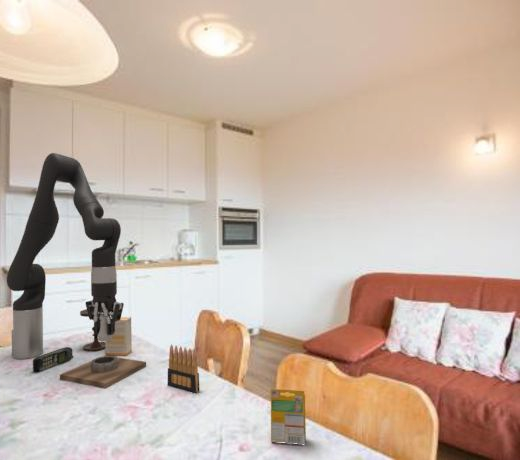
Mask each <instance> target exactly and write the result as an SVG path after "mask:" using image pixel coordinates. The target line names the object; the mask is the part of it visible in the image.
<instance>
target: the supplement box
mask: <svg viewBox="0 0 520 460" xmlns="http://www.w3.org/2000/svg"><path fill="white" fill-rule="evenodd" d="M111 319H112V318H111ZM132 335H133V334H132V317H131V316H121V319H120V320H119V321H116V322H115V332H114V334H112V335H111V336H112V338H111V339H110V340H107V341H104V342H105V348H106V349H105V356H128V355H129V354H130V353H131V352H132V351H133V348H132V347H133V343H132V342H133V341H132V338H133V337H132Z"/></svg>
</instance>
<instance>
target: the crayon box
mask: <svg viewBox="0 0 520 460" xmlns="http://www.w3.org/2000/svg"><path fill="white" fill-rule="evenodd" d="M306 427H307V426H306V394H305V390H297V389H293V390H292V389H281V388H280V389H277V388H271V389H270V443H271V442H285V443H297V444H305V445H306V439H307V435H306V434H307V432H306V429H307V428H306Z"/></svg>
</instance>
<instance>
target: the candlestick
mask: <svg viewBox="0 0 520 460" xmlns="http://www.w3.org/2000/svg"><path fill="white" fill-rule="evenodd" d="M108 313H111V312H108ZM92 315H93V312H92ZM79 316H81V317H87V318H89V316H88V312H87V308H86V309H83V310H80V312H79ZM91 330H92V331H93V334H92V337H93V341H92V342H90V343H89V342H88V343H86V344H84V345H83V346H82V350H83V351H84V352H87V353H88V352H92V353H93V352H99V351H103V350H106V348H105V341H99V340H98V339H97V338H98V334H96V333H95V322H94V321H93V327H92V328H91Z"/></svg>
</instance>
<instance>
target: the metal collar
mask: <svg viewBox="0 0 520 460" xmlns="http://www.w3.org/2000/svg"><path fill="white" fill-rule="evenodd" d="M102 356H103V357H102ZM102 356H98V357H96V358H94V359H92V360H91V371H92V372H95V373H105V372H110V371H113V370H115V369H117V368H118V366H119V358H120V357H118V356H117V355H105V356H104V355H102Z"/></svg>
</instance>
